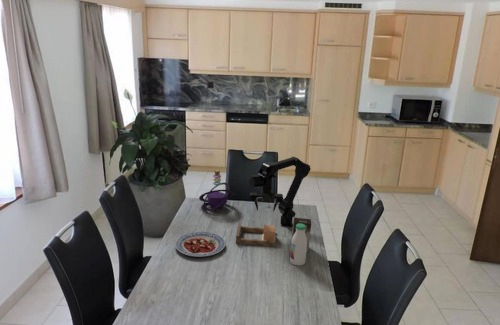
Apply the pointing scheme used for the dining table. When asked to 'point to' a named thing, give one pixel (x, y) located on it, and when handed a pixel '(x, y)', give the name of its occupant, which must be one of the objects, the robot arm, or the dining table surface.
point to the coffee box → (307, 230)
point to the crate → (269, 232)
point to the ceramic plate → (200, 244)
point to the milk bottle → (298, 246)
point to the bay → (252, 241)
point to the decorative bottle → (216, 194)
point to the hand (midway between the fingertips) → (265, 210)
